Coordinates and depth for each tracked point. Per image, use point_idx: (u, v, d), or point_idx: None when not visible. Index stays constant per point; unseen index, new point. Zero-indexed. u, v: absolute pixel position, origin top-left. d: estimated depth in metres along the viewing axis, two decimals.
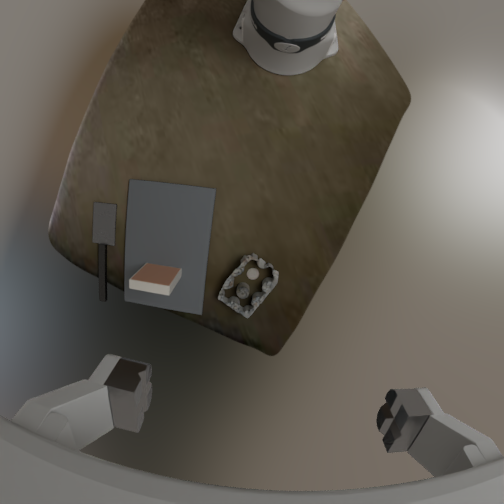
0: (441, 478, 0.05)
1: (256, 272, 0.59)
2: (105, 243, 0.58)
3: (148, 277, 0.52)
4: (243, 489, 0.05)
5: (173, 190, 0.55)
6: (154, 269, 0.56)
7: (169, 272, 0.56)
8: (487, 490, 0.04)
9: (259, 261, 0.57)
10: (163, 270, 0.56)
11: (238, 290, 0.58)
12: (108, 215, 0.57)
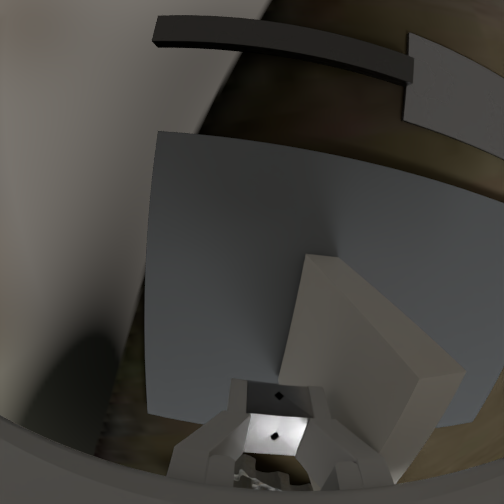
0: (441, 478, 0.05)
1: None
2: None
3: None
4: (243, 489, 0.05)
5: None
6: None
7: None
8: (487, 490, 0.04)
9: None
10: None
11: None
12: (491, 125, 0.13)
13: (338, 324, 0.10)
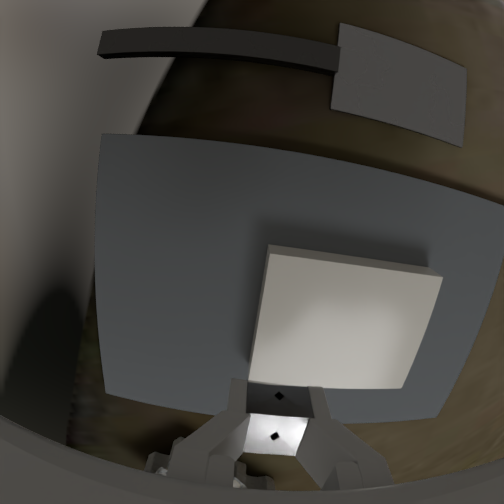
0: (441, 478, 0.05)
1: None
2: (338, 72, 0.14)
3: None
4: (243, 489, 0.05)
5: (466, 334, 0.17)
6: None
7: None
8: (487, 490, 0.04)
9: None
10: None
11: None
12: (433, 109, 0.14)
13: (363, 287, 0.14)
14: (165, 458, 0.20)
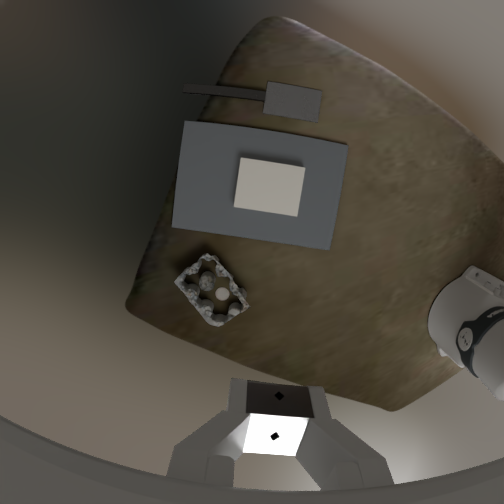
0: (441, 478, 0.05)
1: (223, 298, 0.51)
2: (266, 100, 0.43)
3: None
4: (243, 489, 0.05)
5: (331, 200, 0.46)
6: None
7: None
8: (487, 490, 0.04)
9: (237, 310, 0.50)
10: None
11: (210, 280, 0.48)
12: (303, 109, 0.43)
13: (272, 169, 0.44)
14: None
